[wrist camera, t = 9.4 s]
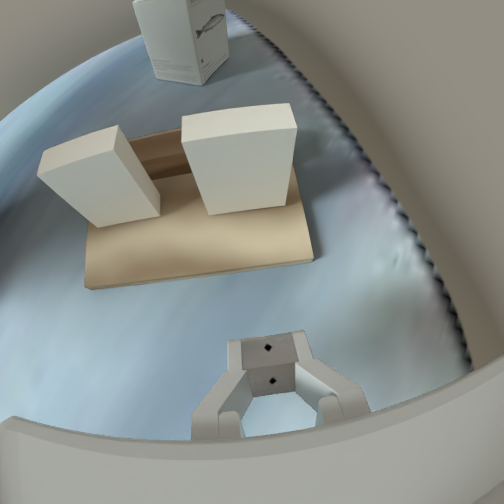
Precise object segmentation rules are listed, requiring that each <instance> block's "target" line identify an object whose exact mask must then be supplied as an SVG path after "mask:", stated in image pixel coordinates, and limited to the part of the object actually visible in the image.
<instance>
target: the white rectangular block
mask: <svg viewBox="0 0 504 504" xmlns="http://www.w3.org/2000/svg"><path fill="white" fill-rule="evenodd" d="M296 134H297V125H296V122H295V119H294V116H293V113H292V110H291V107H290V104H289V103H282V104H269V105H258V106H248V107H239V108H231V109H224V110H217V111H210V112H204V113H198V114H192V115H187V116H182V137H181V143H182V145H183V148H184V151H185V154H186V156H187V159H188V162H189V164H190V167H191V170H192V173H193V175H194V178H195V181H196V183H197V186H198V189H199V191H200V194H201V196H202V199H203V202H204V204H205V207H206V210H207V212H208V215H216V214H223V213H230V212H238V211H245V210H252V209H260V208H268V207H276V206H285V203H286V197H287V191H288V185H289V179H290V172H291V166H292V160H293V153H294V147H295V140H296Z"/></svg>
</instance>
